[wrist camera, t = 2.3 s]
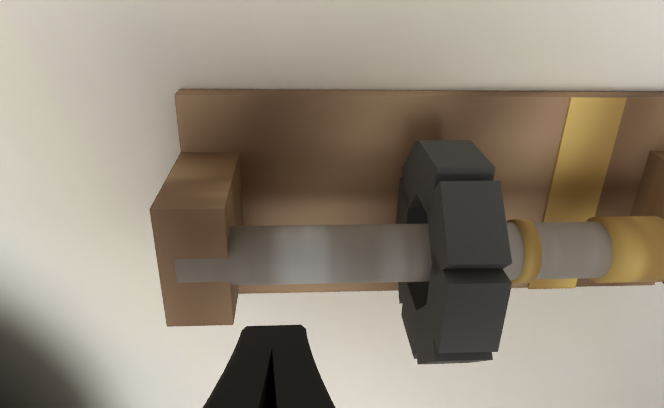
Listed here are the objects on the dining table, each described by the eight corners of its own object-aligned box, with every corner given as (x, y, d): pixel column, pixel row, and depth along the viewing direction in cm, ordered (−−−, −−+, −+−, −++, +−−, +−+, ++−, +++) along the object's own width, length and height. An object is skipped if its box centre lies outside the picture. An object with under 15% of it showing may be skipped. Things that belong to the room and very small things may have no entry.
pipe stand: (703, 92, 19) (842, 141, 14) (642, 274, 23) (737, 363, 18) (179, 89, 18) (136, 142, 13) (200, 282, 22) (172, 381, 17)
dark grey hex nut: (451, 119, 18) (528, 203, 12) (431, 279, 21) (485, 411, 15) (405, 118, 18) (460, 204, 12) (391, 280, 21) (430, 413, 15)
